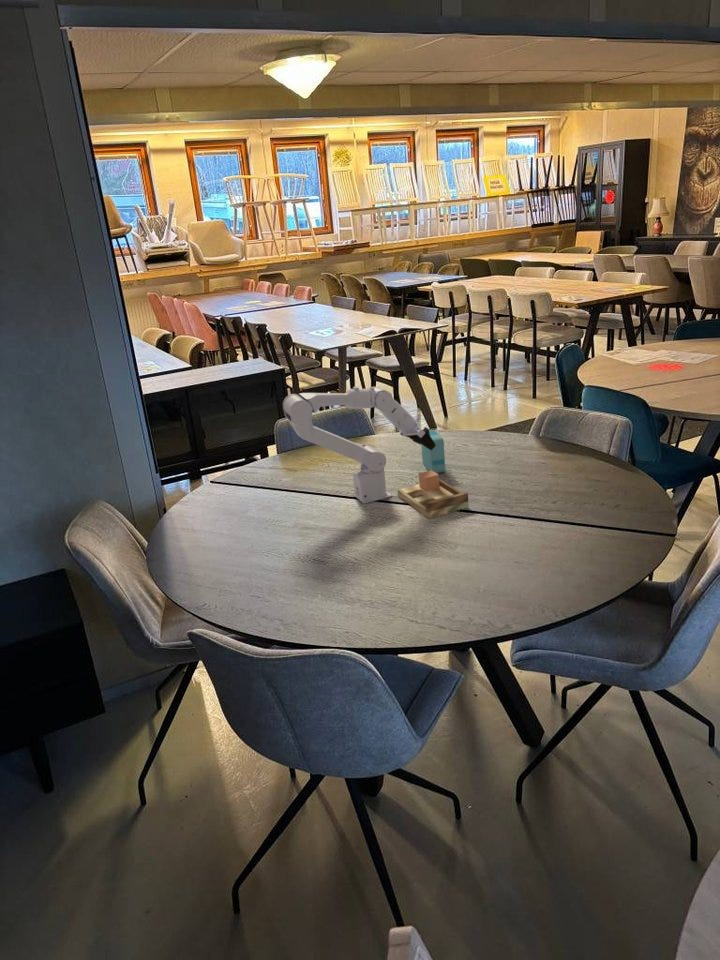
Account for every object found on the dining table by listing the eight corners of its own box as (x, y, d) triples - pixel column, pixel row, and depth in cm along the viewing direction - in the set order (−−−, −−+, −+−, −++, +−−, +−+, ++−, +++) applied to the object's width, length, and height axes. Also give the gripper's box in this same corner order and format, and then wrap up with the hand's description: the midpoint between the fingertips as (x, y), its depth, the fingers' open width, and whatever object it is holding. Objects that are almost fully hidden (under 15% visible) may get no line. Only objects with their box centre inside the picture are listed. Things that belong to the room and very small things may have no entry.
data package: (445, 473, 220) (443, 438, 216) (432, 475, 220) (430, 440, 215) (435, 461, 231) (433, 428, 227) (422, 463, 231) (420, 430, 226)
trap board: (428, 518, 189) (427, 504, 188) (397, 495, 207) (396, 482, 205) (468, 507, 193) (467, 493, 192) (435, 486, 211) (434, 472, 209)
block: (426, 491, 202) (425, 477, 201) (419, 487, 206) (418, 473, 205) (439, 488, 204) (438, 474, 202) (432, 483, 208) (431, 470, 206)
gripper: (418, 411, 196) (447, 440, 203) (397, 403, 209) (425, 429, 216) (403, 430, 196) (431, 458, 203) (383, 420, 209) (410, 446, 215)
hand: (427, 444), depth 209 cm, fingers open, 7 cm apart
